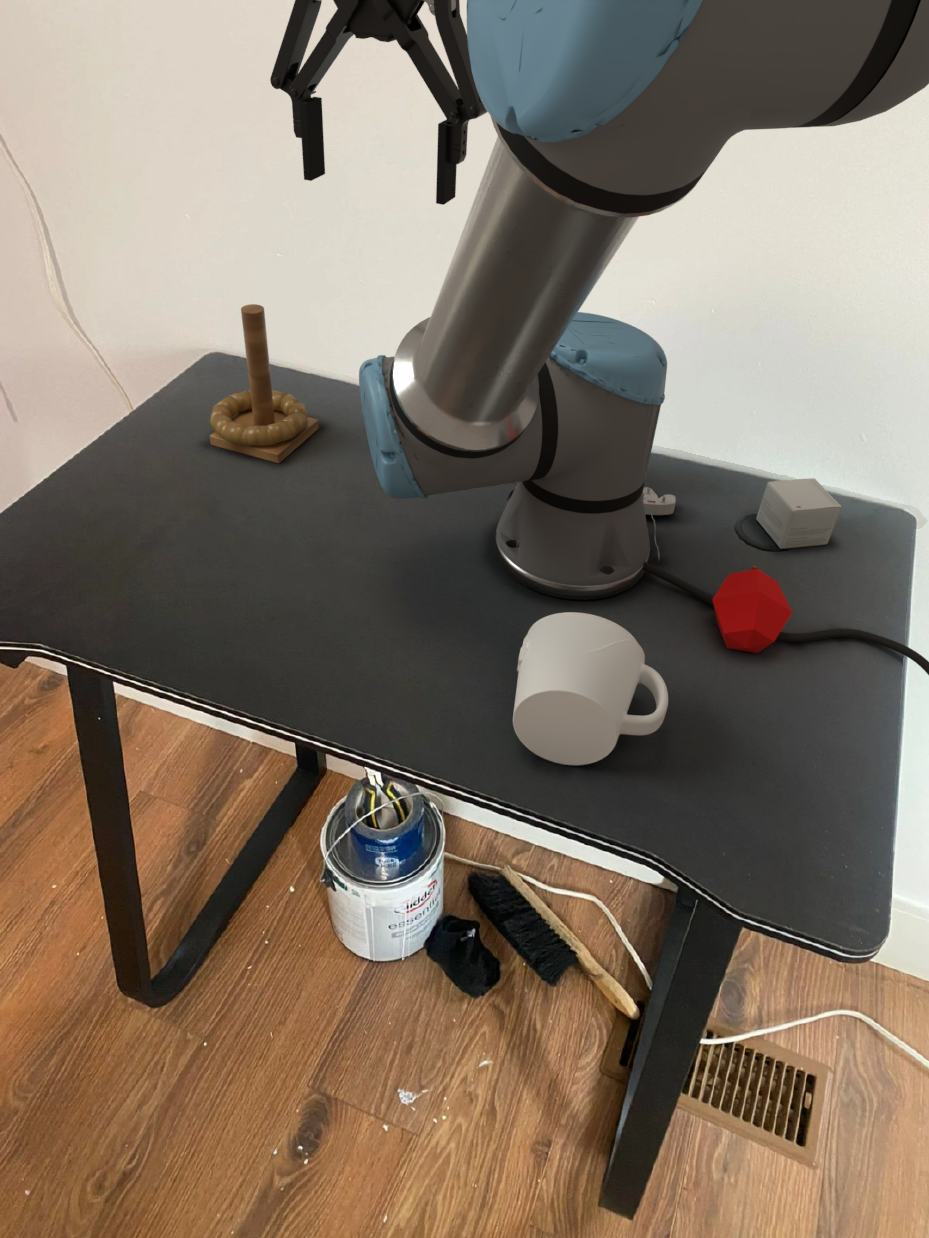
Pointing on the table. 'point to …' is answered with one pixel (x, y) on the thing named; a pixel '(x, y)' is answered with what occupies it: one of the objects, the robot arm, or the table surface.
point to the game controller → (657, 505)
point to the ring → (258, 434)
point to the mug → (581, 688)
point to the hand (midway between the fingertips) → (378, 189)
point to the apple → (750, 610)
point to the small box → (798, 513)
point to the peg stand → (261, 393)
